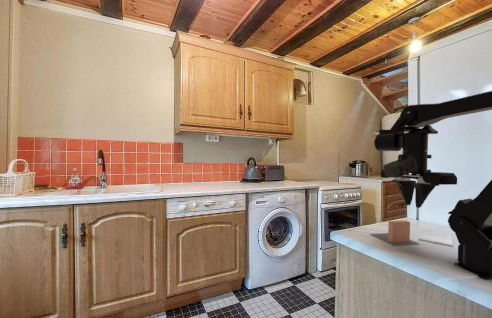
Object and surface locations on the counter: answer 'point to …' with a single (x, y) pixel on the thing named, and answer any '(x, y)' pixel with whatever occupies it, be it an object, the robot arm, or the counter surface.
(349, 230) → the counter surface
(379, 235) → the mat
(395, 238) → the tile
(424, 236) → the hard drive
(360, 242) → the counter surface
